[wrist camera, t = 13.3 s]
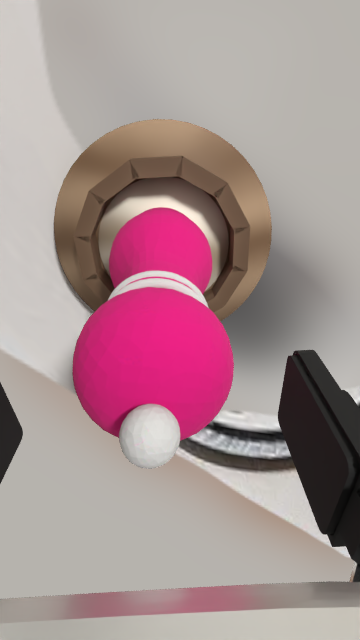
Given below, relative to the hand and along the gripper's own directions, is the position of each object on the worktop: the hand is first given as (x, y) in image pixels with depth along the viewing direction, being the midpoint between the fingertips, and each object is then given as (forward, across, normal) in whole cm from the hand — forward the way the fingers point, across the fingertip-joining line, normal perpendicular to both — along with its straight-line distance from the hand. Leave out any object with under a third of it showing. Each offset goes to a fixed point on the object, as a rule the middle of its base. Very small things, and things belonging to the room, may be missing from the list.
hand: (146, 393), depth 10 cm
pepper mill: (+18, 0, +1) cm, 18 cm away
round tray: (+19, 0, +1) cm, 19 cm away
